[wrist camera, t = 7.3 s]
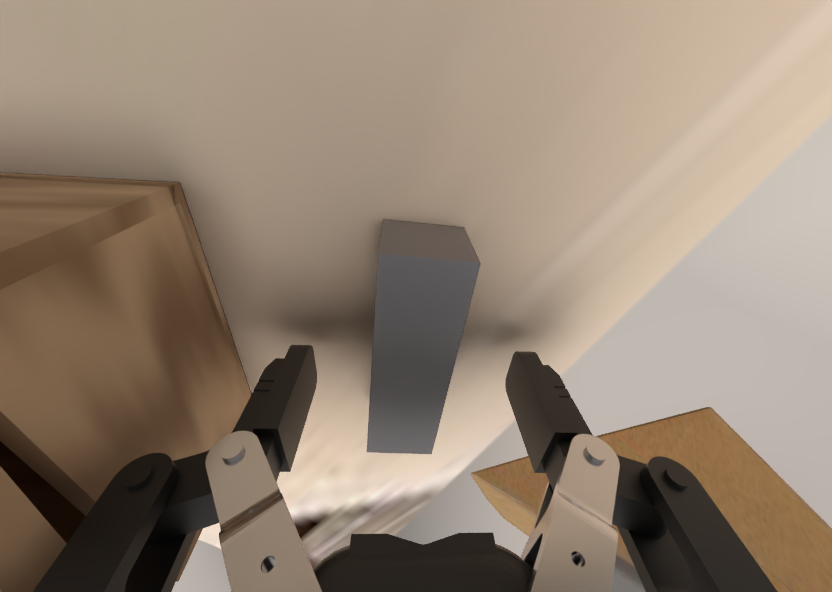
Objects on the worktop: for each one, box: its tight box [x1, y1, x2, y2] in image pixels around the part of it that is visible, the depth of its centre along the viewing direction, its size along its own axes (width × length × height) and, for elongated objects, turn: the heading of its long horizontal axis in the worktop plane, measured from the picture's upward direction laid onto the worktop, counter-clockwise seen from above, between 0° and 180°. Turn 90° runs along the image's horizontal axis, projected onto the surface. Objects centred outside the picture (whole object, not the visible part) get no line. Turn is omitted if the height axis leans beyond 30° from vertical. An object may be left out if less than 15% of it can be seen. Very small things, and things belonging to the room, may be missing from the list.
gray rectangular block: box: [367, 219, 480, 454], centre depth 13 cm, size 10×3×3 cm, turn 173°
